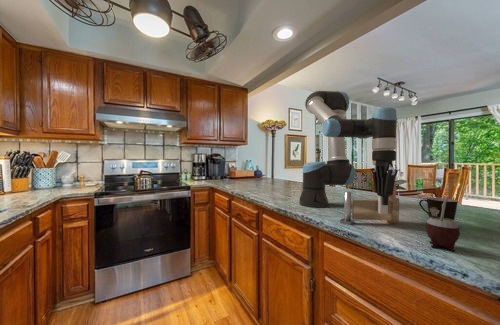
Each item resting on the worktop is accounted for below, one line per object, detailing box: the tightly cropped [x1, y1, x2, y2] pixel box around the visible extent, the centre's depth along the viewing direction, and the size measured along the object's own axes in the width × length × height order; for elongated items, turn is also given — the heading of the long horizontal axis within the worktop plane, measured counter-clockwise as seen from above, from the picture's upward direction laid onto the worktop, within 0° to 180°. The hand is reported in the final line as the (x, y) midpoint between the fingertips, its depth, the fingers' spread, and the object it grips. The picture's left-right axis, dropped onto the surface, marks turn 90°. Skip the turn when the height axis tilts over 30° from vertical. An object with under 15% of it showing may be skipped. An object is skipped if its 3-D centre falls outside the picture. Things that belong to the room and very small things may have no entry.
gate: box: [351, 197, 400, 223], centre depth 80 cm, size 2×17×9 cm, turn 88°
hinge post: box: [339, 191, 356, 226], centre depth 81 cm, size 4×4×12 cm
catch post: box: [380, 186, 397, 224], centre depth 83 cm, size 4×4×14 cm
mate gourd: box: [425, 197, 461, 253], centre depth 58 cm, size 8×8×15 cm
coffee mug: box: [418, 196, 459, 221], centre depth 80 cm, size 12×9×10 cm
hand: (382, 213), depth 77 cm, fingers closed
